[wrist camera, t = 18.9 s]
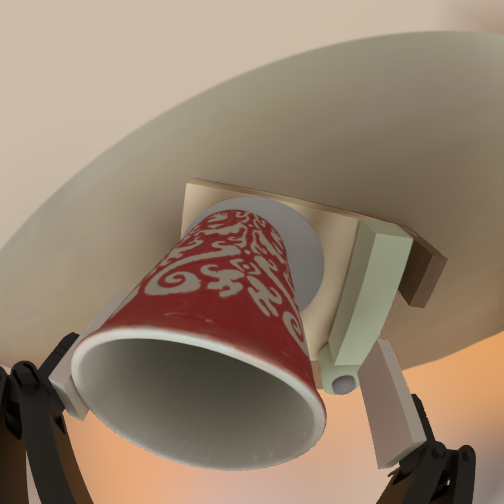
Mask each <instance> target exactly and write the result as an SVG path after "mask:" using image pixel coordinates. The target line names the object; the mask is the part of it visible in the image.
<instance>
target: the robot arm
mask: <svg viewBox="0 0 504 504" xmlns="http://www.w3.org/2000/svg"><path fill="white" fill-rule="evenodd" d="M131 292H132V291H129V290H126V289H122V288H119V289H118V290H117V291H116V292H115V294H114V295H113V296H112V297H111V298H110V299H109V301H108V302H107V303H106V304H105V305H104V307H103V308H102V309H101V310H100V311H99V312H98V314H97V315H96V316H95V317H94V319H93V320H92V321H91V322H90V323H89V325H88V326H87V327H86V328H85V330H84V331H83V332H82V333H81V335H78V334H76V333H74V332H72V333H70V334H68V335H67V336H65V337H64V338H63V339H62V340H61V341H60V343H59V344H58V346H56V348H55V349H54V350H53V352H52V353H51V354H50V355H49V356H48V358H47V359H46V360H45V362H44V363H43V364H42V365H41V367H40V368H39V369H38V370H37V368H36V366H35V365H34V364H33V363H32V362H29V361H20V362H18V363H16V364H15V365H14V366H13V368H12V369H11V373H10V375H7V373H6V371H5V370H4V369H3V368H2V367H1V366H0V504H29V500H28V490H27V475H26V451H27V456H28V460H29V464H30V468H31V472H32V476H33V479H34V482H35V486H36V489H37V492H38V495H39V498H40V501H41V503H42V504H94V503H93V501H92V499H91V497H90V494H89V492H88V490H87V487H86V485H85V483H84V480H83V478H82V475H81V472H80V470H79V467H78V464H77V462H76V458H75V455H74V452H73V449H72V446H71V443H70V439H69V436H68V432H67V428H66V425H65V421H64V416H63V414H62V412H63V411H64V409H66V410H67V412H68V414H69V415H71V416H73V417H75V418H77V419H79V420H81V421H83V420H84V419H85V417H86V415H87V413H88V411H89V407H88V406H87V405H86V404H85V402H84V401H83V399H82V398H81V396H80V395H79V393H78V391H77V389H76V387H75V384H74V382H73V378H72V374H71V359H72V355H73V352H74V350H75V348H76V347H77V345H78V344H79V342H80V341H81V340H82V339H83V338H85V337H86V336H87V335H88V334H90V333H92V332H93V331H95V330H98V329H99V328H100V327H101V326H102V325H103V324H104V323H105V321H106V320H107V319H108V318H109V317H110V316H111V314H112V313H113V312H114V311H115V310H116V309H117V308H118V306H119V305H120V304H121V303H122V302H123V300H124V299H125V298H126V297H127V296H128V295H129V294H130V293H131ZM357 376H358V379H359V383H360V387H361V391H362V395H363V399H364V403H365V407H366V411H367V416H368V420H369V425H370V429H371V434H372V439H373V444H374V449H375V454H376V459H377V464H378V469H384V468H390V467H393V466H394V465H395V464H397V463H398V462H399V465H400V467H398V468H397V469H396V470H394V471H393V472H391V473H390V474H389V475H388V477H390V476H391V475H393V474H394V475H393V477H392V478H391V480H390V482H389V484H388V485H387V487H386V489H385V490H384V492H383V493H382V495H381V497H380V498H379V500H378V501H377V503H376V504H472V500H473V492H474V481H475V466H476V455H475V451H474V449H473V448H472V447H471V446H469V445H464V446H462V447H461V448H459V449H458V450H450V449H446V447H445V445H444V444H442V443H441V442H438V441H436V440H435V438H434V435H433V432H432V429H431V427H430V424H429V421H428V418H427V417H426V413H425V411H424V408H423V405H422V402H421V400H420V399H419V398H418V397H417V395H416V394H410V391H409V388H408V386H407V383H406V381H405V378H404V376H403V374H402V371H401V368H400V366H399V364H398V361H397V359H396V357H395V354H394V352H393V350H392V347H391V345H390V343H389V341H388V340H383V339H377V340H376V341H375V343H374V345H373V347H372V348H371V350H370V352H369V353H368V355H367V357H366V358H365V360H364V361H363V363H362V365H361V366H360V368H359V369H358V371H357ZM448 480H450V483H449V485H447V482H448Z"/></svg>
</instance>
